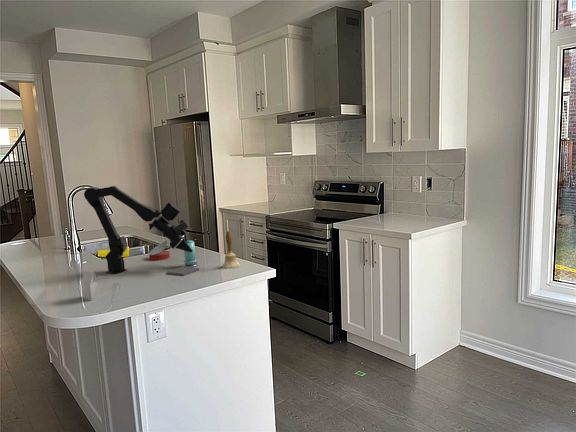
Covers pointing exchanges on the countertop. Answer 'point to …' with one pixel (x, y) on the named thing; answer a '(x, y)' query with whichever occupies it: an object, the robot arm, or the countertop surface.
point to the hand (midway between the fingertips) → (192, 250)
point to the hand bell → (230, 254)
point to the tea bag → (90, 286)
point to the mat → (182, 271)
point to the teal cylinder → (190, 253)
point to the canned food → (159, 252)
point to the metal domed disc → (191, 264)
